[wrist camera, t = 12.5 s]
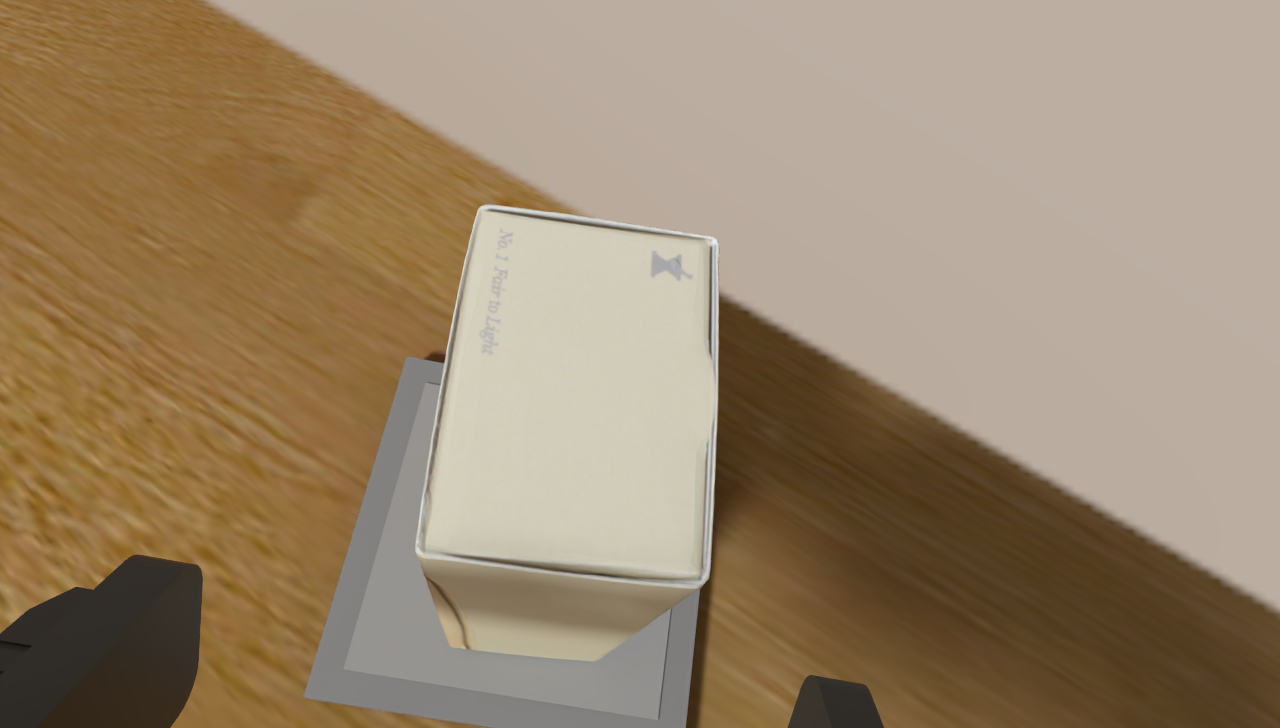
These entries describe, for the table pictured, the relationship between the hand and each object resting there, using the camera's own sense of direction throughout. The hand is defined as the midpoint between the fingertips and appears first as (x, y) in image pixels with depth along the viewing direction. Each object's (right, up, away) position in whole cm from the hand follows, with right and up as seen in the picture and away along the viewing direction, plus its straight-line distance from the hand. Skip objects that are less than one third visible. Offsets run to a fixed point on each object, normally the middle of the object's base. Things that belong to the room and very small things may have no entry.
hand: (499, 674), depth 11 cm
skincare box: (-1, -1, +13) cm, 13 cm away
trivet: (-1, -1, +14) cm, 14 cm away
